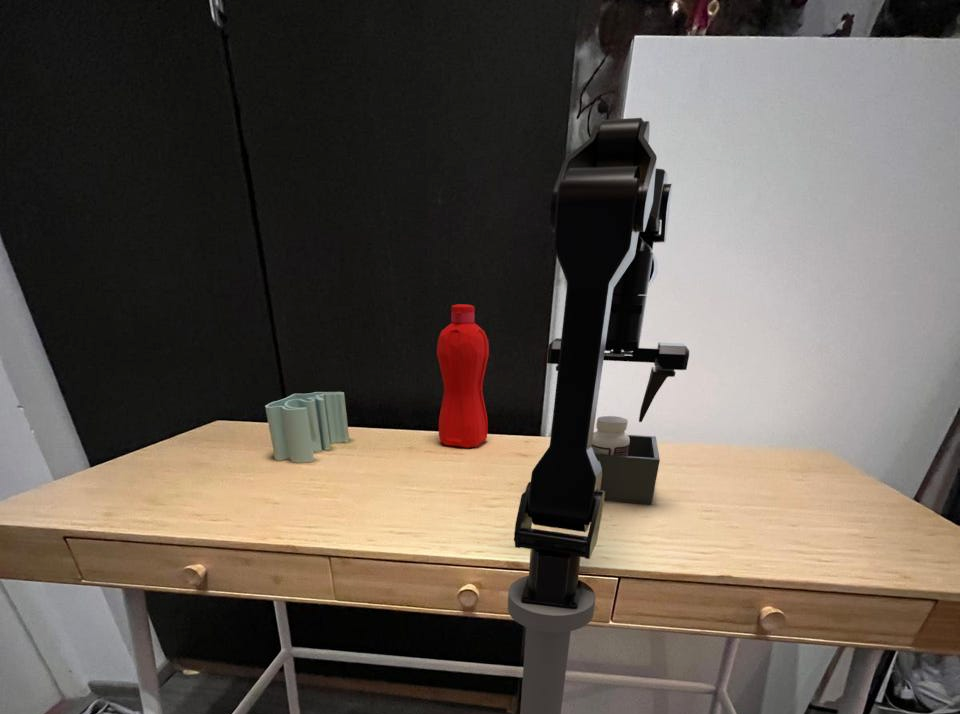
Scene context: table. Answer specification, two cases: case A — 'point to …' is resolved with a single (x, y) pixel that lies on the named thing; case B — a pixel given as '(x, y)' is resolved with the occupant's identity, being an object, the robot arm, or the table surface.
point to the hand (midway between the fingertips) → (608, 419)
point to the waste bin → (631, 472)
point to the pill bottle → (611, 436)
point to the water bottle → (463, 379)
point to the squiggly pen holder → (306, 424)
